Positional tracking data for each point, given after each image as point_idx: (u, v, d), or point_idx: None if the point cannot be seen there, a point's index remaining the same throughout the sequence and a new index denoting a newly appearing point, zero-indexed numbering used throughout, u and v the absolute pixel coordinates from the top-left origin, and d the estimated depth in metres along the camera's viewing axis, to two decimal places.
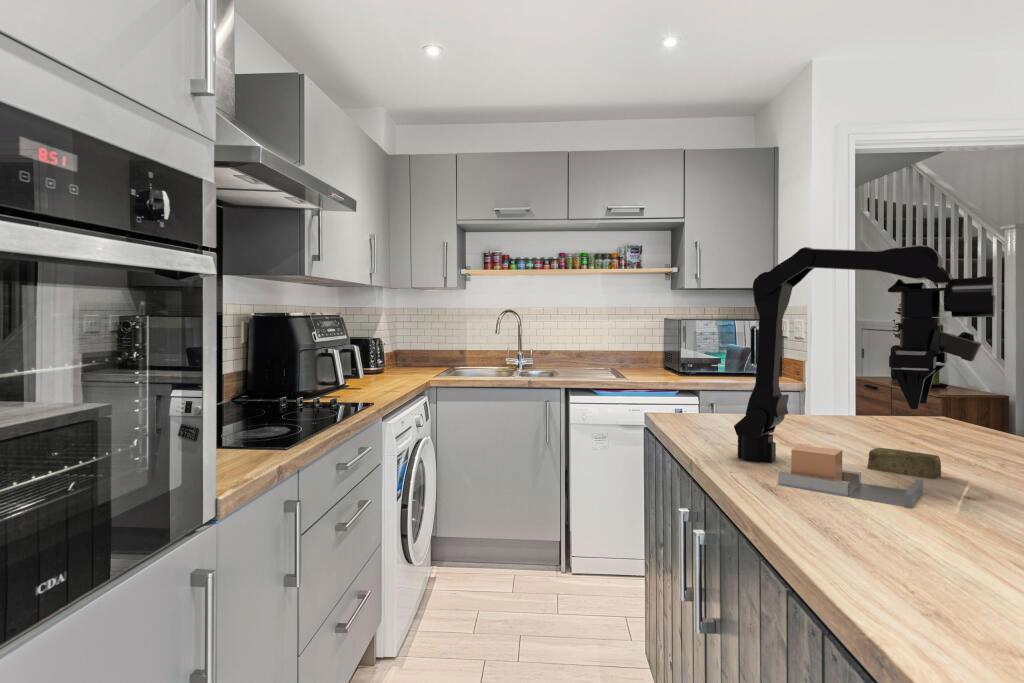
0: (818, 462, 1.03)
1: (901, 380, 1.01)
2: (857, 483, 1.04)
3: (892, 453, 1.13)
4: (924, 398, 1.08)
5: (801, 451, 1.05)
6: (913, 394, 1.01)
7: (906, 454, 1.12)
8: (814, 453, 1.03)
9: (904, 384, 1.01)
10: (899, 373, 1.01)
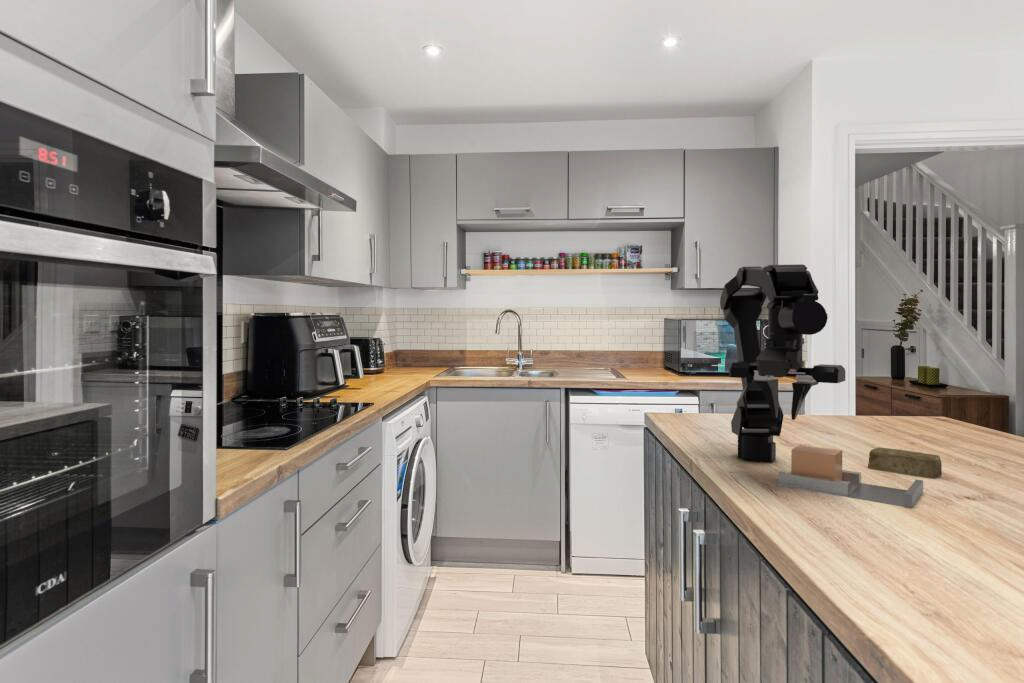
0: (818, 462, 1.03)
1: None
2: (857, 483, 1.04)
3: (892, 453, 1.13)
4: None
5: (801, 451, 1.05)
6: None
7: (906, 454, 1.12)
8: (814, 453, 1.03)
9: None
10: None
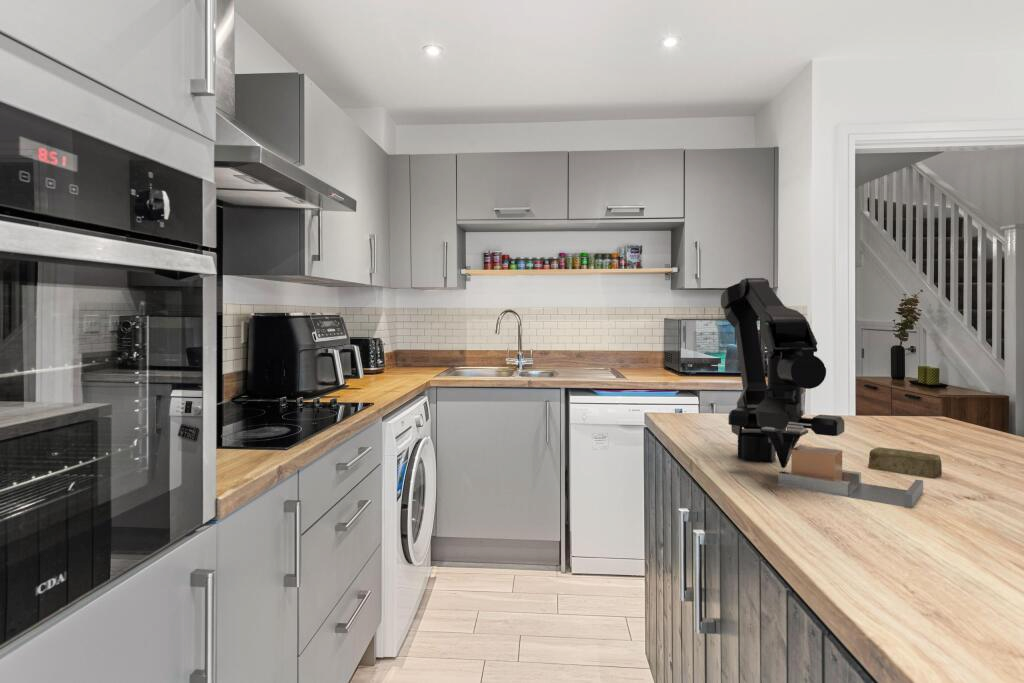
0: (818, 462, 1.03)
1: None
2: (857, 483, 1.04)
3: (892, 453, 1.13)
4: None
5: (801, 451, 1.05)
6: None
7: (906, 454, 1.12)
8: (814, 453, 1.03)
9: None
10: None
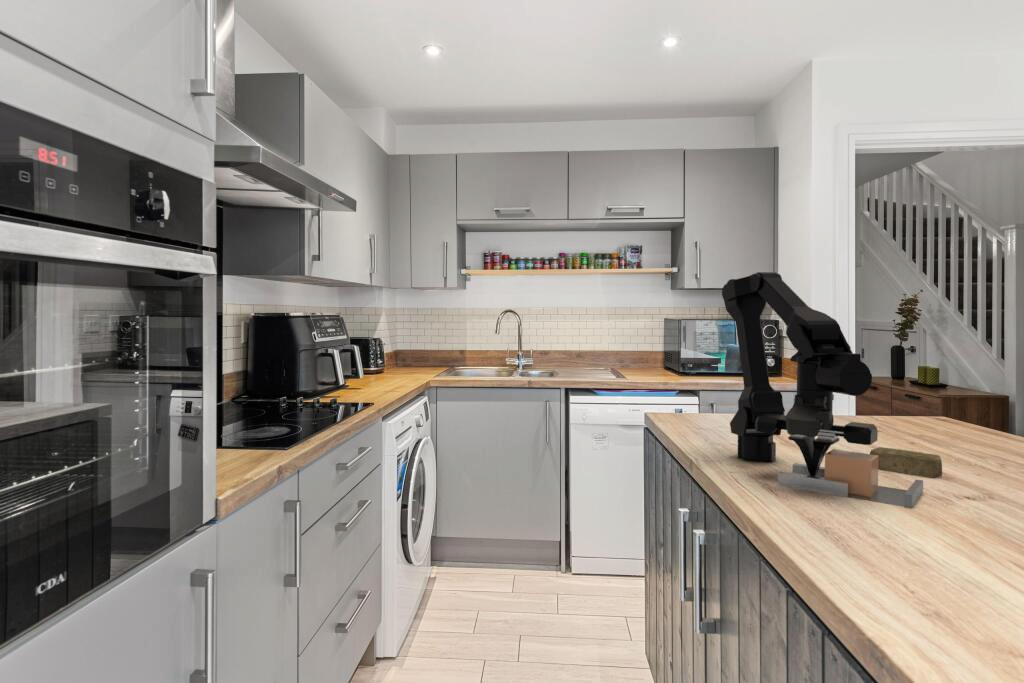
0: (853, 467, 0.99)
1: None
2: None
3: (892, 452, 1.13)
4: None
5: (835, 456, 1.01)
6: None
7: (906, 454, 1.12)
8: (849, 458, 0.99)
9: None
10: None
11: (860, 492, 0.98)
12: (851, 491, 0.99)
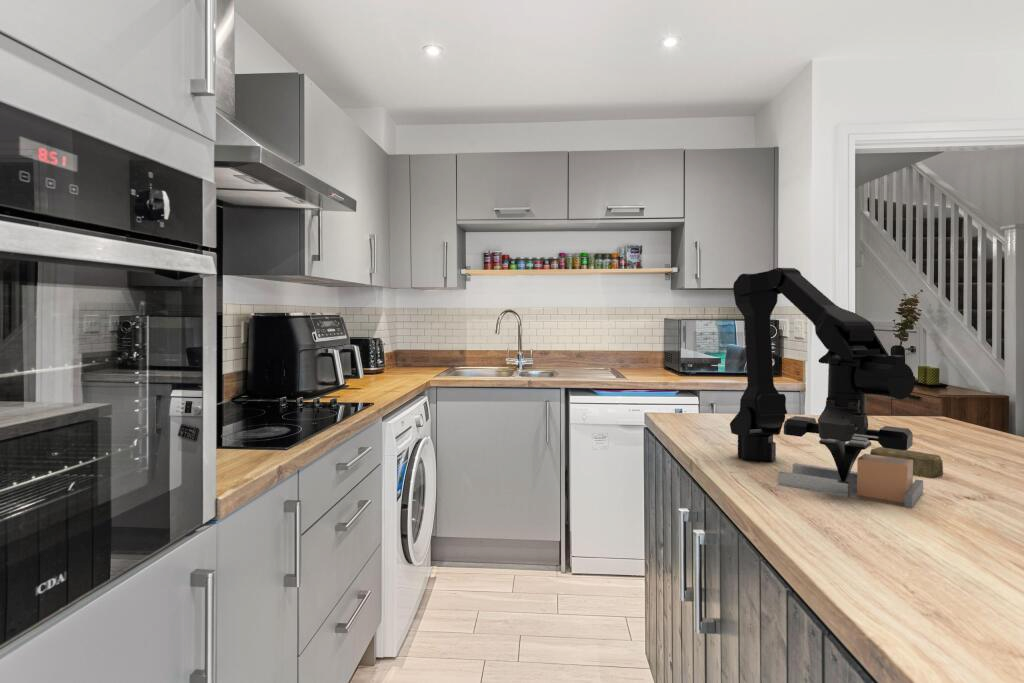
0: (888, 473, 0.96)
1: None
2: None
3: (892, 452, 1.14)
4: None
5: (868, 461, 0.98)
6: None
7: (906, 453, 1.12)
8: (883, 463, 0.96)
9: None
10: None
11: (895, 498, 0.95)
12: (886, 497, 0.96)
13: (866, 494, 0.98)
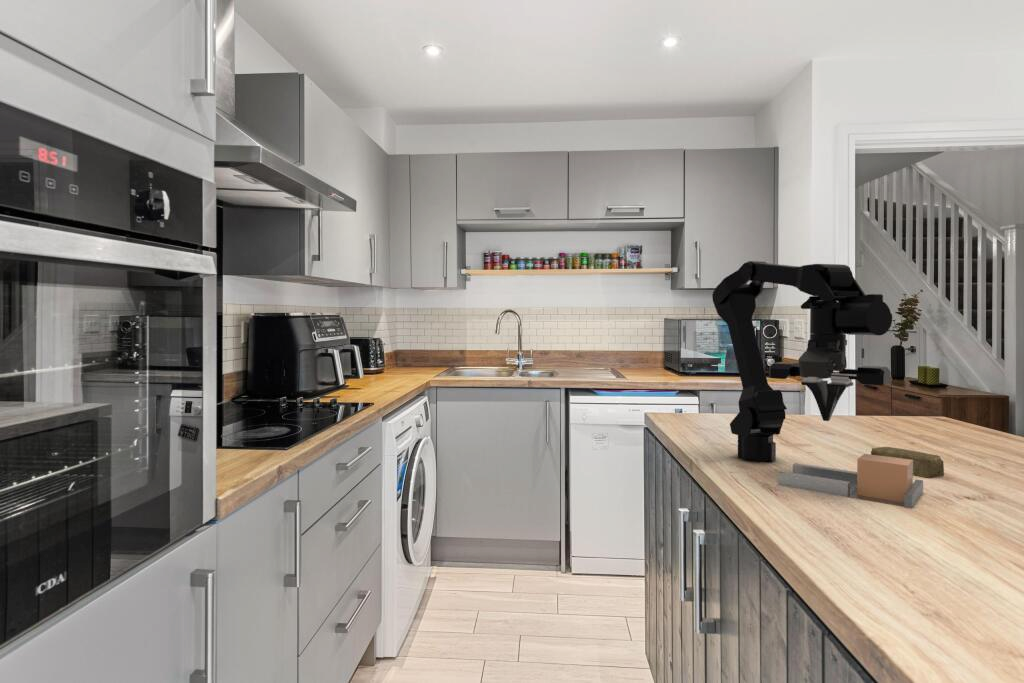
0: (888, 473, 0.96)
1: None
2: None
3: (891, 451, 1.14)
4: None
5: (868, 461, 0.98)
6: None
7: (904, 453, 1.13)
8: (883, 463, 0.96)
9: None
10: None
11: (895, 498, 0.95)
12: (886, 497, 0.96)
13: (866, 494, 0.98)
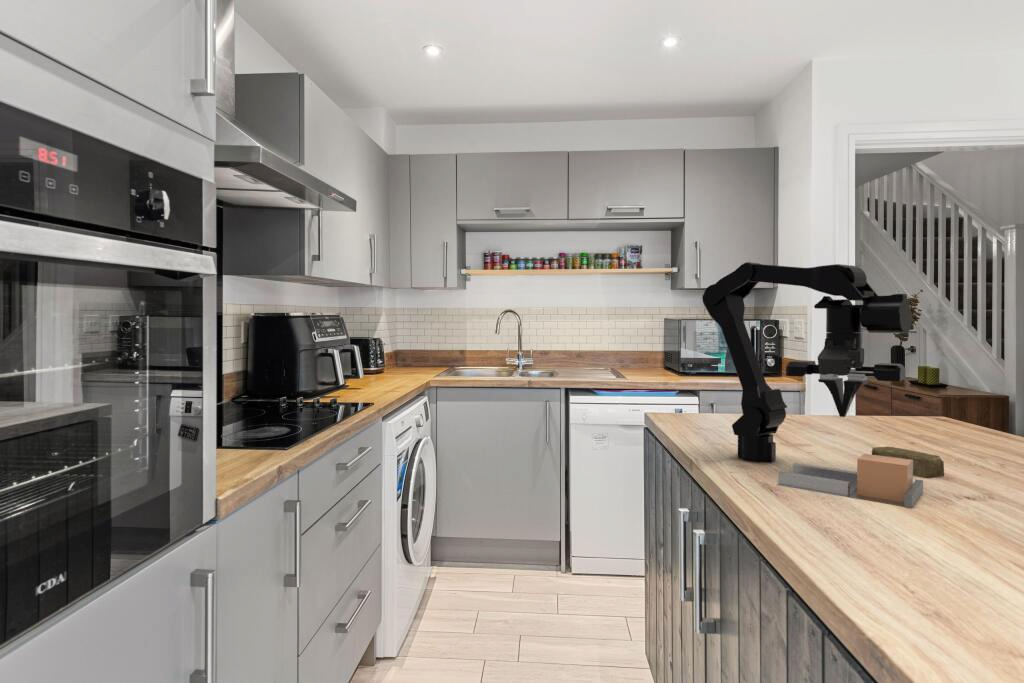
0: (888, 473, 0.96)
1: None
2: None
3: (891, 451, 1.14)
4: None
5: (868, 461, 0.98)
6: None
7: (904, 453, 1.13)
8: (883, 463, 0.96)
9: None
10: None
11: (895, 498, 0.95)
12: (886, 497, 0.96)
13: (866, 494, 0.98)
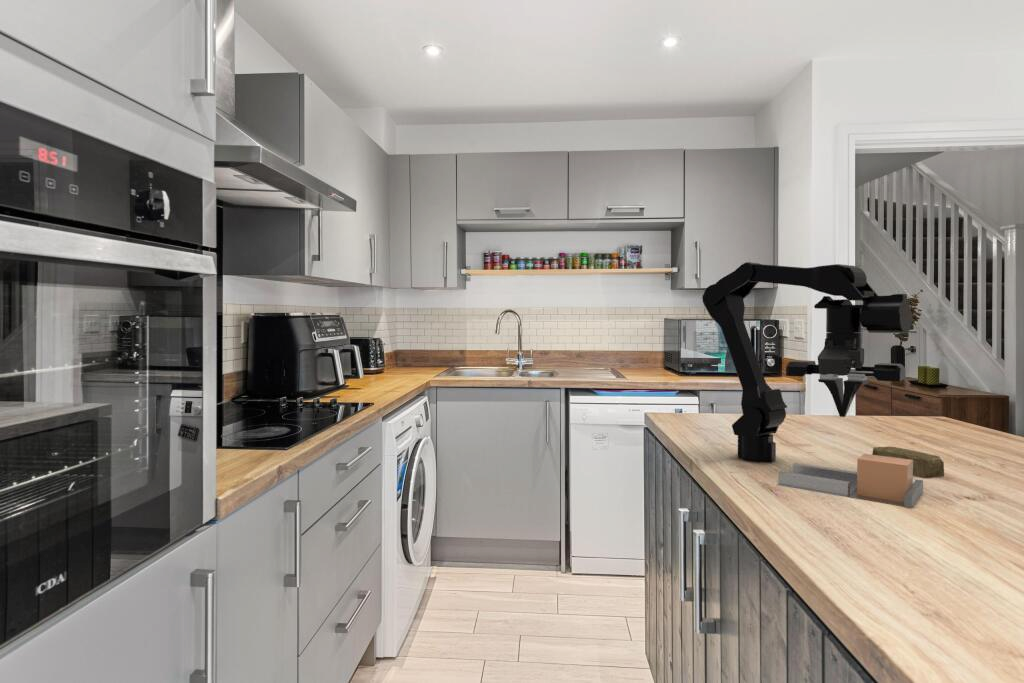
0: (888, 473, 0.96)
1: None
2: None
3: (890, 451, 1.15)
4: None
5: (868, 461, 0.98)
6: None
7: (903, 452, 1.13)
8: (883, 463, 0.96)
9: None
10: None
11: (895, 498, 0.95)
12: (886, 497, 0.96)
13: (866, 494, 0.98)
